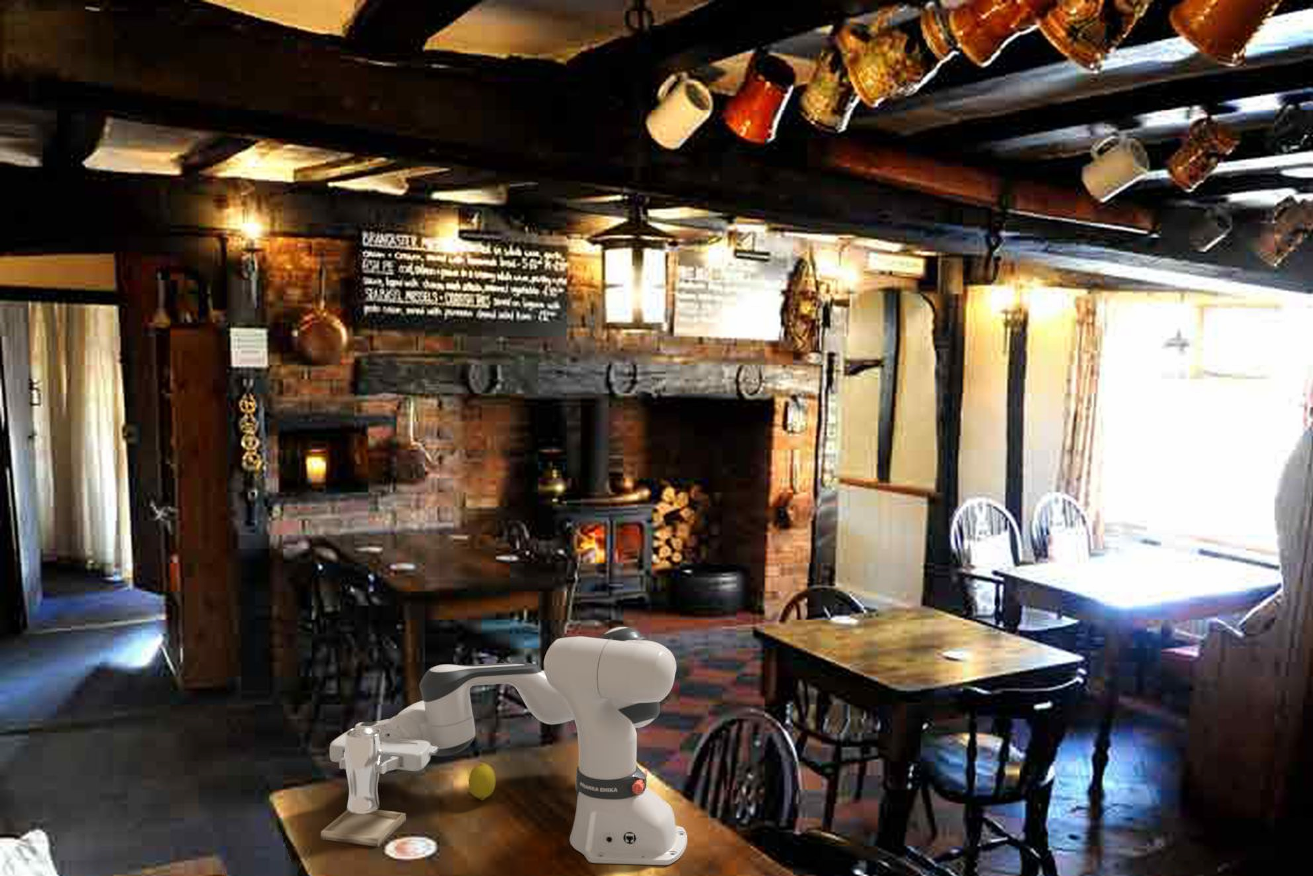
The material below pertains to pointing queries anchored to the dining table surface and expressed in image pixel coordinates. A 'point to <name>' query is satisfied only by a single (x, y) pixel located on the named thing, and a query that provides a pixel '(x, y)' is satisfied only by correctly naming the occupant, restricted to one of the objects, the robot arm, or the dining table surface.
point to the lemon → (482, 781)
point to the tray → (363, 827)
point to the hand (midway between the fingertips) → (360, 767)
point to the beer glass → (363, 768)
